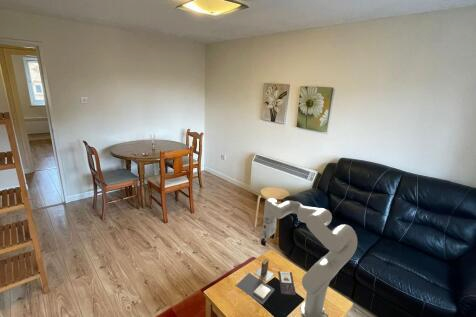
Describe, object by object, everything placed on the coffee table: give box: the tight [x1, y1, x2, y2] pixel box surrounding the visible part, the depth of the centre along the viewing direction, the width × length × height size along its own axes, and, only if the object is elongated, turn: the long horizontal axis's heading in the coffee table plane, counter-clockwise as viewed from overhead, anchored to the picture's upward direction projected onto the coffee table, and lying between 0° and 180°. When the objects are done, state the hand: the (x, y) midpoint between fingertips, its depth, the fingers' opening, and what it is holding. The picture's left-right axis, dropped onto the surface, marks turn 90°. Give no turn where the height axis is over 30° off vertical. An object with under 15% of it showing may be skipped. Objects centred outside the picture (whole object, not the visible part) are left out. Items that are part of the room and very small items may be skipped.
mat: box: [235, 272, 275, 305], centre depth 150 cm, size 20×14×1 cm
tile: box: [254, 284, 271, 299], centre depth 147 cm, size 1×8×7 cm
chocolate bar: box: [277, 271, 297, 297], centre depth 155 cm, size 9×1×18 cm
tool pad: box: [254, 266, 274, 282], centre depth 161 cm, size 10×8×1 cm
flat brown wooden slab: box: [260, 258, 269, 276], centre depth 159 cm, size 2×5×10 cm, turn 141°
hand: (267, 241), depth 152 cm, fingers open, 9 cm apart
